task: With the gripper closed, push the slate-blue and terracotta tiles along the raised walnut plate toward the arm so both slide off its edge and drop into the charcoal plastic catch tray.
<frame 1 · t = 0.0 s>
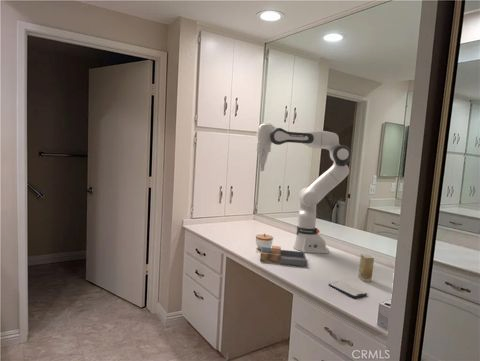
hand: (262, 170, 219), 48 cm above the vanity counter, fingers open, 8 cm apart
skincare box: (364, 279, 171), on the vanity counter
phone case: (346, 291, 155), on the vanity counter
lidded jar: (263, 248, 214), on the vanity counter
tile 1: (275, 251, 193), point 4 cm above the vanity counter, touching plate
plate: (270, 258, 194), on the vanity counter
catch tray: (292, 261, 193), on the vanity counter
tile 2: (266, 250, 194), point 4 cm above the vanity counter, touching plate
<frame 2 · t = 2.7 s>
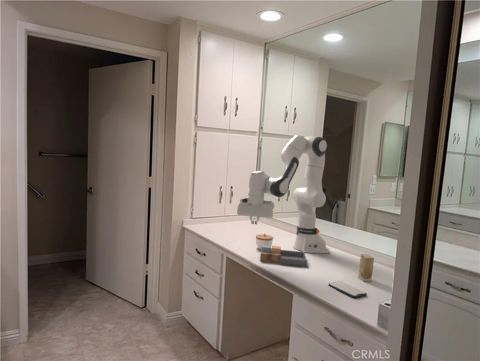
hand: (254, 224, 193), 19 cm above the vanity counter, fingers closed
nothing on the vanity counter moved.
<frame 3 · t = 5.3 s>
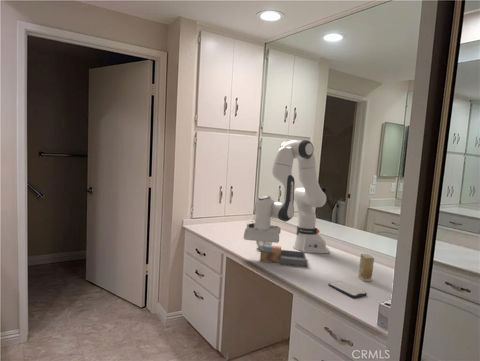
hand: (260, 248, 194), 5 cm above the vanity counter, fingers closed
tile 1: (276, 251, 193), point 5 cm above the vanity counter
tile 2: (267, 250, 194), point 5 cm above the vanity counter, touching gripper, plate
everything else where it was.
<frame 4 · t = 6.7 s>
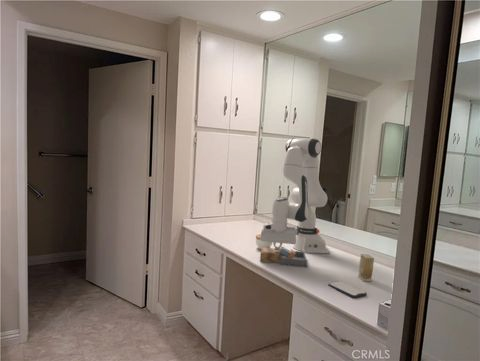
hand: (277, 250, 193), 5 cm above the vanity counter, fingers closed
tile 1: (288, 253, 193), point 4 cm above the vanity counter, tilted 124°, touching catch tray, tile 2
tile 2: (283, 253, 193), point 4 cm above the vanity counter, tilted 24°, touching gripper, tile 1
everything else where it was.
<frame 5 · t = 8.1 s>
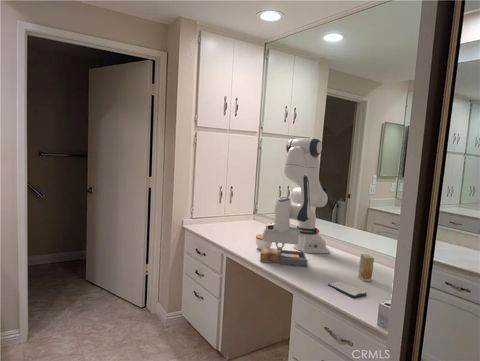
hand: (279, 250, 193), 5 cm above the vanity counter, fingers closed
tile 1: (294, 255, 192), point 3 cm above the vanity counter, tilted 180°, touching catch tray
tile 2: (285, 259, 193), point 1 cm above the vanity counter, touching catch tray
everything else where it was.
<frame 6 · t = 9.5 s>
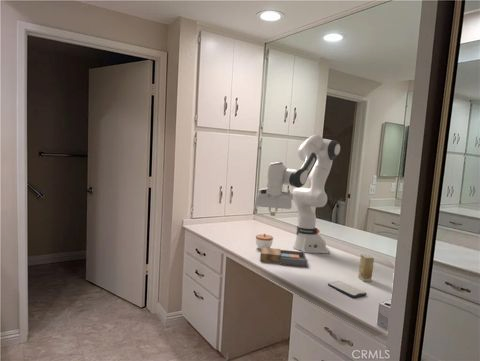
hand: (272, 215, 192), 25 cm above the vanity counter, fingers closed
nothing on the vanity counter moved.
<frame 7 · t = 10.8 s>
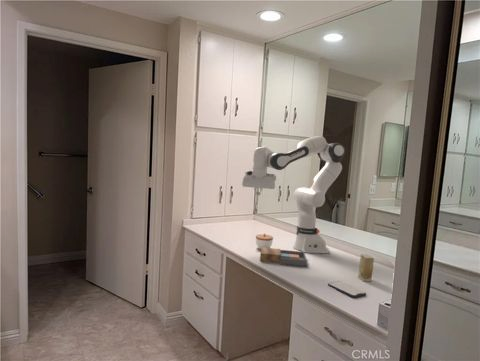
hand: (257, 195, 212), 33 cm above the vanity counter, fingers closed
nothing on the vanity counter moved.
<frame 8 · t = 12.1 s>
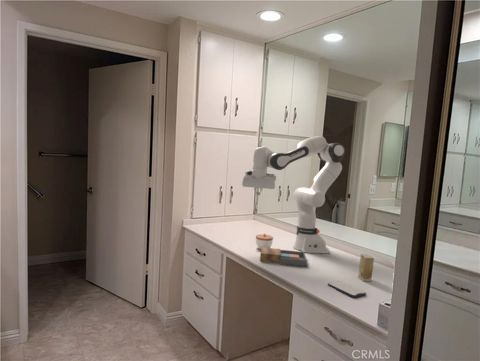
hand: (257, 195, 212), 33 cm above the vanity counter, fingers closed
nothing on the vanity counter moved.
at the end: tile 1 inside the target area on the catch tray (0.4 cm from its centre), point 3.1 cm above the catch tray's base; tile 2 inside the target area on the catch tray (4.7 cm from its centre), point 0.6 cm above the catch tray's base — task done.
